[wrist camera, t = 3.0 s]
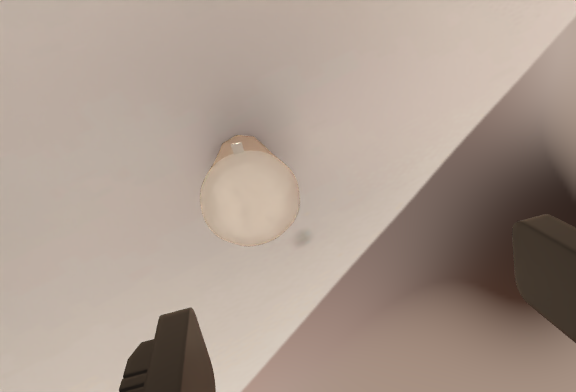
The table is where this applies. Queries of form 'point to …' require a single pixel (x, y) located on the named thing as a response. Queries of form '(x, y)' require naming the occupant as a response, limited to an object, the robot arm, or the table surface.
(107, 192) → the table surface
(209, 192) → the milkshake
